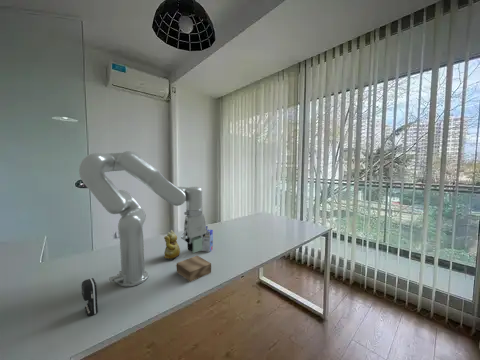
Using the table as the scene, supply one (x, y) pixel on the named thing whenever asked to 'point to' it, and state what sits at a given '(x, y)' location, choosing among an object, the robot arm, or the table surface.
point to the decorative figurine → (171, 246)
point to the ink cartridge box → (208, 241)
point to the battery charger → (90, 296)
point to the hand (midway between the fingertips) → (195, 248)
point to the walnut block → (193, 268)
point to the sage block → (197, 244)
